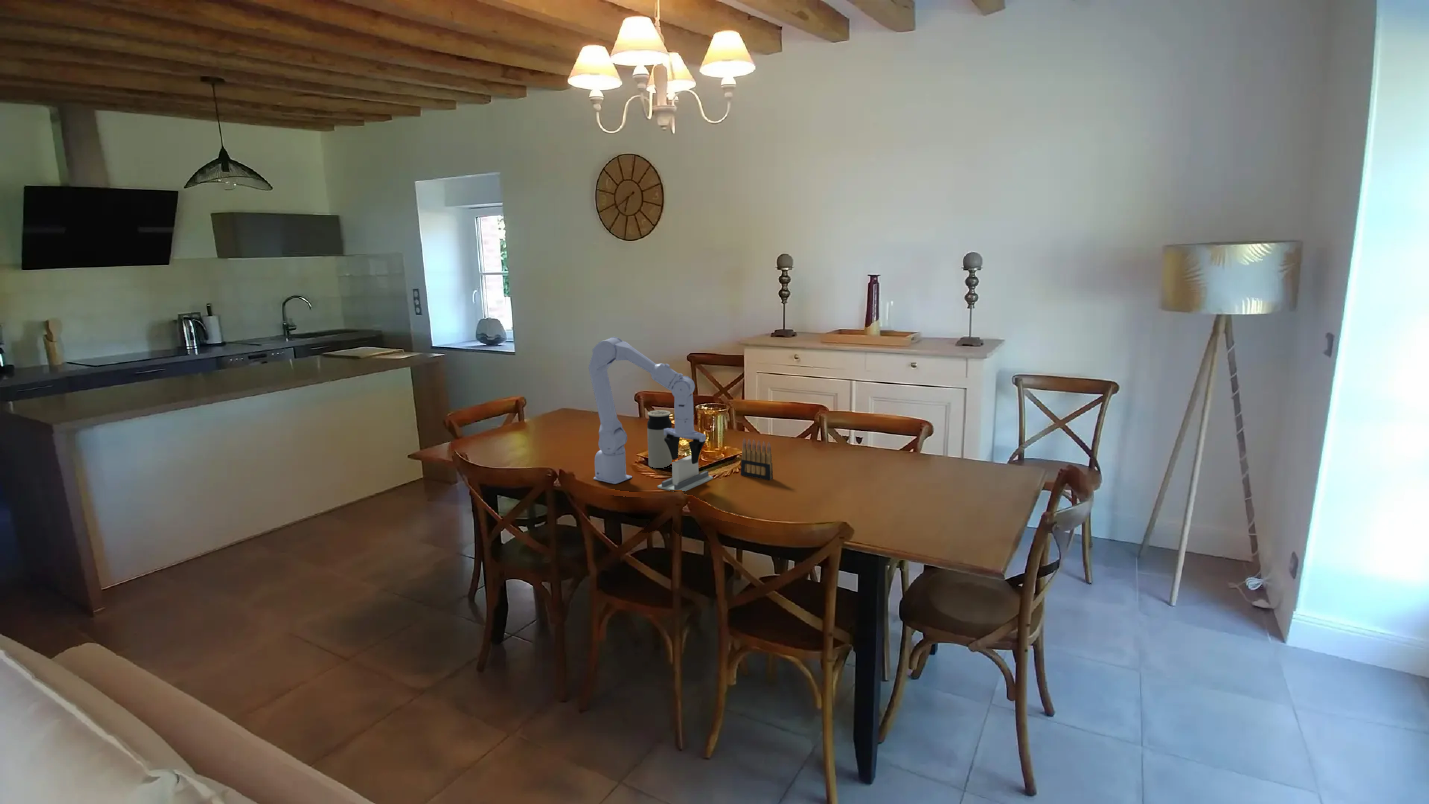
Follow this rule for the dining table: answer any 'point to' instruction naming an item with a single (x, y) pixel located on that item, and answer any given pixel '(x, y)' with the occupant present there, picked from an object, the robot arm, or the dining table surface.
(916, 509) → the dining table surface
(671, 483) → the track
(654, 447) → the travel mug
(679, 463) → the door panel
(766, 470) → the ammunition clip
